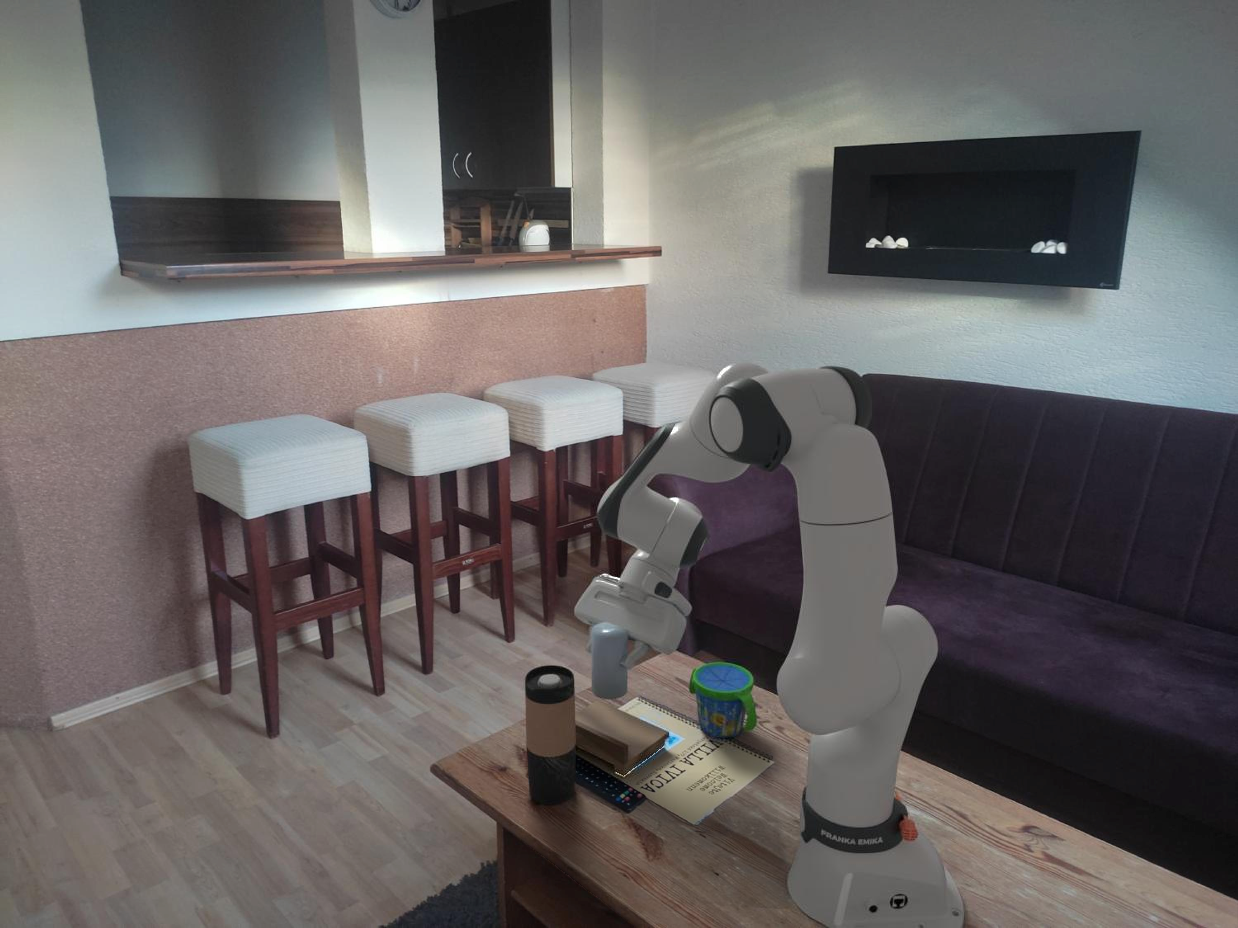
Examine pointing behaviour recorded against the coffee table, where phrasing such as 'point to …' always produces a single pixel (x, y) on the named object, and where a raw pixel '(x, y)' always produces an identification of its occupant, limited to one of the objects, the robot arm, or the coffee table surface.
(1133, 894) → the coffee table surface
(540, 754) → the travel mug
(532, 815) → the coffee table surface
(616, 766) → the brown wooden box
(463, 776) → the coffee table surface
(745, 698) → the snack cup
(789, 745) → the coffee table surface
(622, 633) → the grey rounded cylinder
